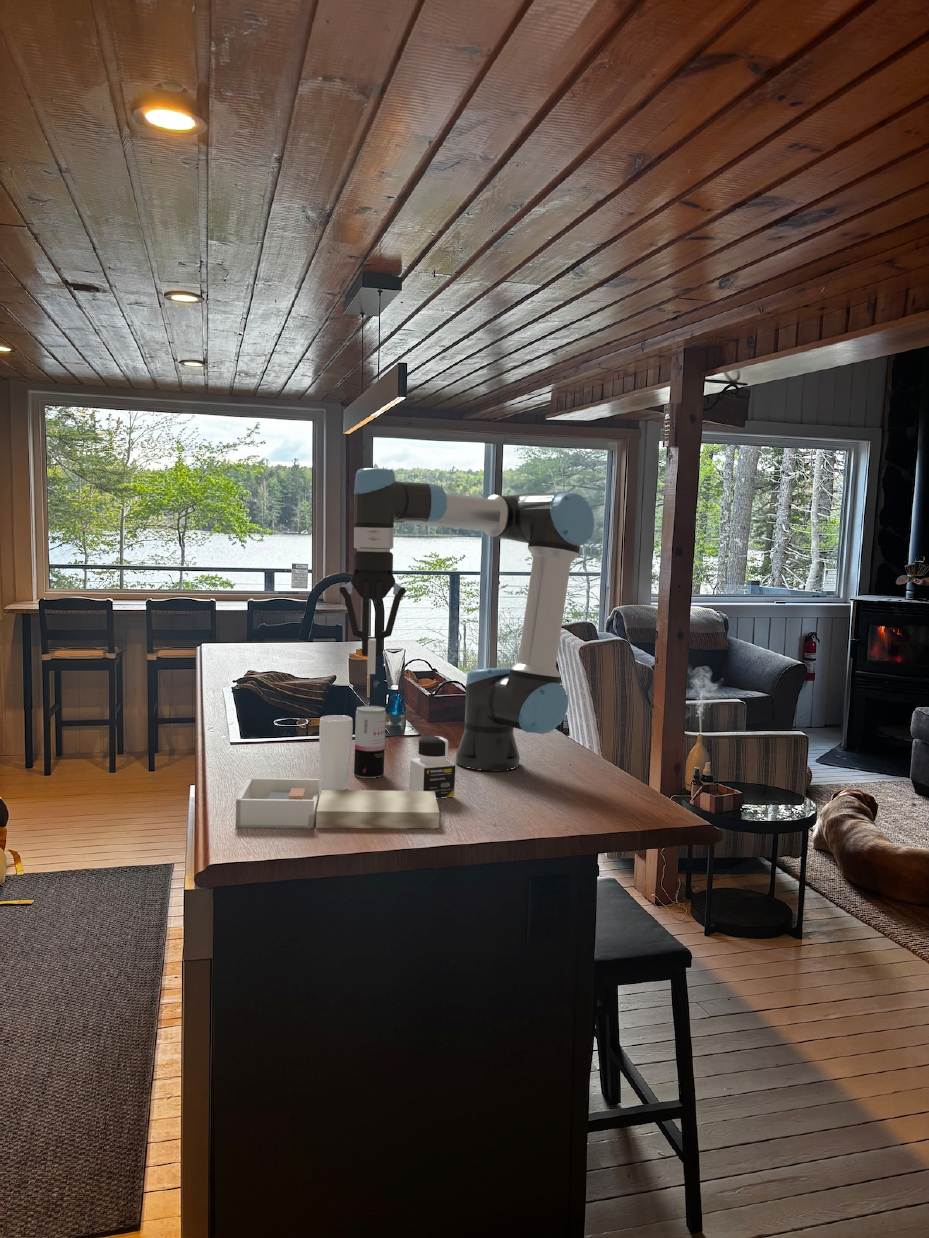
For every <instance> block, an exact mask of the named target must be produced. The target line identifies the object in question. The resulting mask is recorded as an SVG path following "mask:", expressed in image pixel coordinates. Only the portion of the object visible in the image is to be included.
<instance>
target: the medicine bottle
mask: <svg viewBox="0 0 929 1238" xmlns="http://www.w3.org/2000/svg"><path fill="white" fill-rule="evenodd" d="M448 755H449V740H448V739H447V738H444V737H443V736H439V735H438V736H437V735H428V736H427V735H426V736H423V737H421V738H420V739H419V740H418V756H417V757H414V758H411V759H410V760H409V761H410V764H409V784H408V785H409V787H408V789H409V790H408V791H435V795H436V798H442V797H453V796H454V797H455V785H456V784H455V783H456V763H454V762H452V761H450V760H448ZM454 797H453V798H454Z"/></svg>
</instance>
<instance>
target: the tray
mask: <svg viewBox="0 0 929 1238" xmlns="http://www.w3.org/2000/svg"><path fill="white" fill-rule="evenodd" d="M291 788H305V800H299V799H268V797H269V795H270V793H271V792H290V791H291ZM319 798H320V778H289V777H287V778H282V777H281V778H278V777H277V778H276V777H248V778H247V780H246V782H245V783H244V785H243V787H242V788H241V791H240V793H239V794H238V796H237V798H236V799H235V829H238V828H239V829H311V828H313V829H314V826H315V823H316V811H317V807H318V802H319Z"/></svg>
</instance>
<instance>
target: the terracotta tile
mask: <svg viewBox="0 0 929 1238" xmlns="http://www.w3.org/2000/svg"><path fill="white" fill-rule="evenodd" d="M289 799H299V800H305V788H291V791H290V794H289Z"/></svg>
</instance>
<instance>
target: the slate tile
mask: <svg viewBox="0 0 929 1238" xmlns="http://www.w3.org/2000/svg"><path fill="white" fill-rule="evenodd" d="M289 794H290V792H271V793H270V795H269V797H268V799H289Z"/></svg>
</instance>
